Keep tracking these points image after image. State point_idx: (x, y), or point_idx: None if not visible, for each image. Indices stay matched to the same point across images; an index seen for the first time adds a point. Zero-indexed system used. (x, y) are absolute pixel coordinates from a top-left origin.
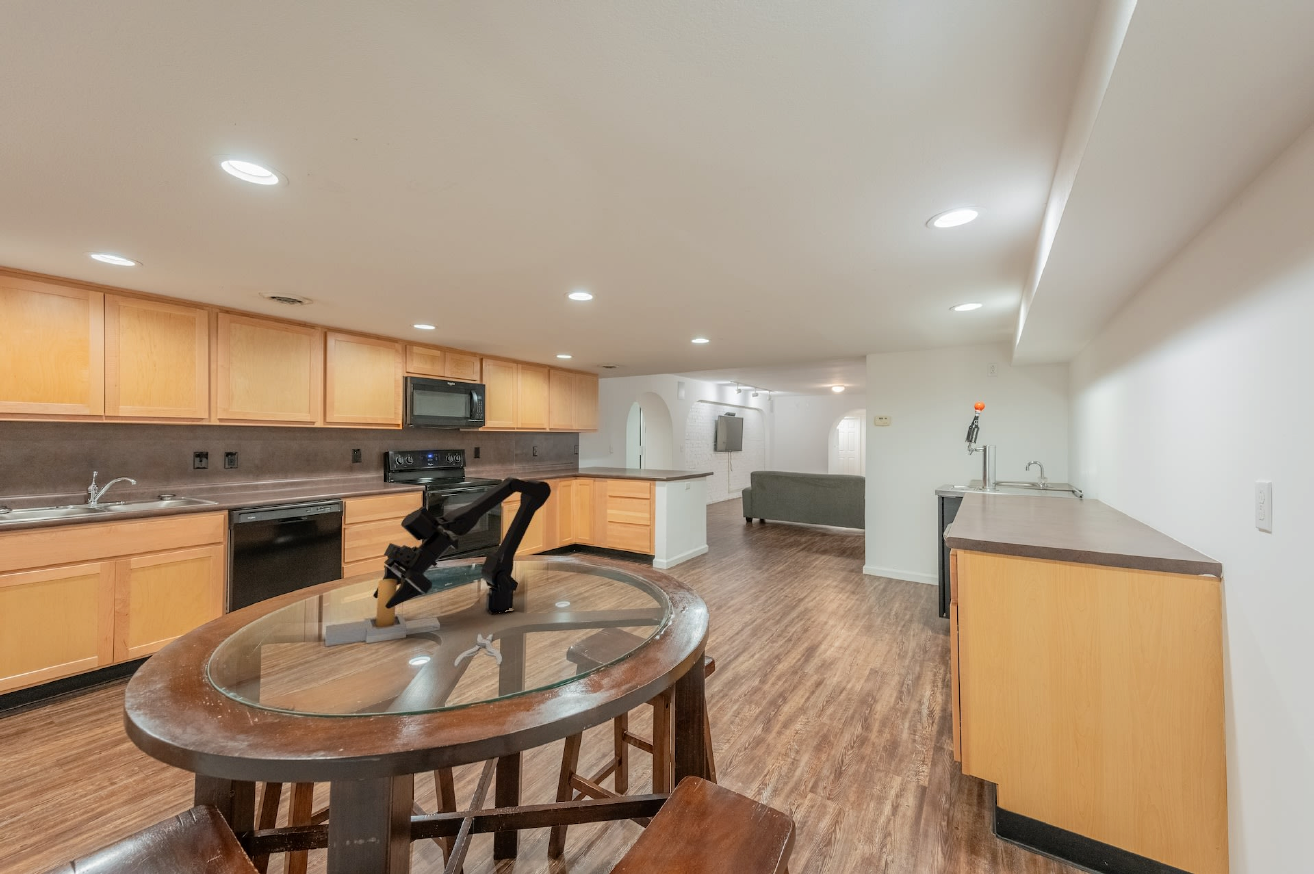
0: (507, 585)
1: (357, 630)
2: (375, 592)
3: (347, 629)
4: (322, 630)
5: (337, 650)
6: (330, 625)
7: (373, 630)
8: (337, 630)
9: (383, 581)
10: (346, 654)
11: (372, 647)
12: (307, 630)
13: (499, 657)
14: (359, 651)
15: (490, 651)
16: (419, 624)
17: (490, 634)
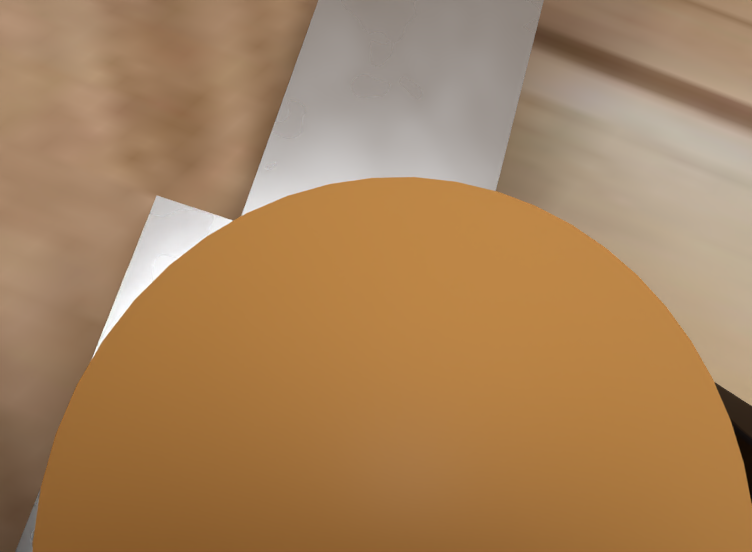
0: None
1: (267, 150)
2: (726, 405)
3: (327, 75)
4: (687, 108)
5: (189, 18)
6: (532, 16)
7: (133, 259)
8: (362, 5)
9: (481, 359)
10: (47, 29)
11: (32, 240)
12: (742, 37)
13: None
14: (28, 124)
15: None
16: None
17: None
